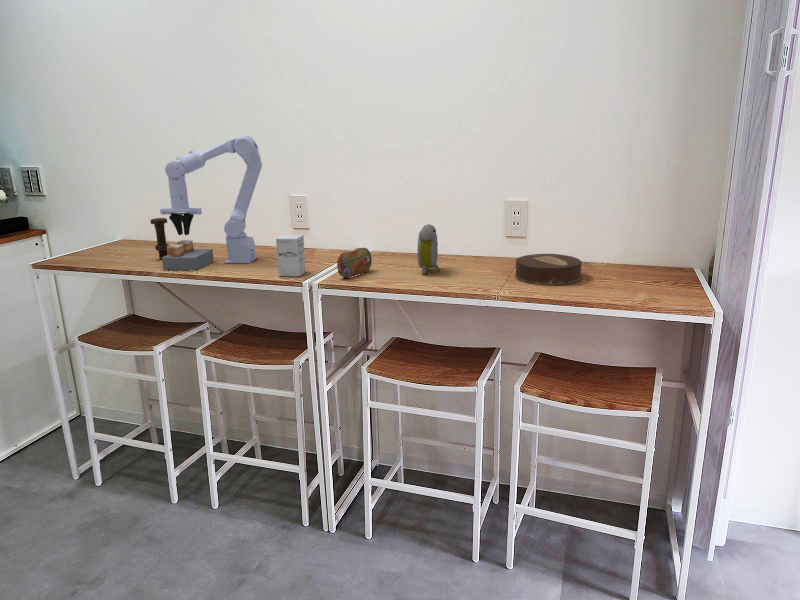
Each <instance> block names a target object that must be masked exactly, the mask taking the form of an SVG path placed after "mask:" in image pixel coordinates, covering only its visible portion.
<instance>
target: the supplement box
mask: <svg viewBox="0 0 800 600" xmlns="http://www.w3.org/2000/svg"><path fill="white" fill-rule="evenodd" d="M304 238H305V237H304V234H281V235H279V236H278V237H276V239H275V243H276V256H277V257H276V259H277V270H278V271H277V272H278V277H297V276H300V277H301V276H302V275H304V274H305V273H306V254H305V241H304V240H305V239H304Z"/></svg>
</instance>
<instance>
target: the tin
mask: <svg viewBox="0 0 800 600" xmlns="http://www.w3.org/2000/svg"><path fill="white" fill-rule="evenodd" d="M336 265H337V272H338V274H339V276H341V277H342V278H345V277H346V278H347V279H351V278H350V277H352V276H355V275H358V274H361V275H363V274H362V273H364V274H366V273H367V272H369V270H370V269H371V268H372V267H371V266H372V254H371V252H370V250H369V249H368V248H367V247H357V248H354V249H350V250H348V251H343V252H342V253H340V254H339V256H338V258H337V261H336ZM365 272H366V273H365ZM358 276H359V275H358Z"/></svg>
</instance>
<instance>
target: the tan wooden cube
mask: <svg viewBox="0 0 800 600" xmlns="http://www.w3.org/2000/svg"><path fill="white" fill-rule="evenodd" d="M176 244H183V246H184V253H189V252H192V251H194V249H195V248H194V243H193V240H189V239H188V240H186V239H185V240H183V239H182V240H179V241H177V242H176Z"/></svg>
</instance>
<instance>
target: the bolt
mask: <svg viewBox="0 0 800 600" xmlns="http://www.w3.org/2000/svg"><path fill="white" fill-rule="evenodd" d="M149 221H150V225H154V229H155V237H156V243H157V244H156V245H154V247H155V250H156V251H157V252H158V256H159V257H158V258H159V260H160V259H162V257H164V256H167V255H168V252H167V246H170V244H168V243H167V238H166V231H165V230H166V229H165V224H166V223H168V218H167V217H166V218H165V217H156V218H155V217H154V218H152V219H150V220H149Z"/></svg>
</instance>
